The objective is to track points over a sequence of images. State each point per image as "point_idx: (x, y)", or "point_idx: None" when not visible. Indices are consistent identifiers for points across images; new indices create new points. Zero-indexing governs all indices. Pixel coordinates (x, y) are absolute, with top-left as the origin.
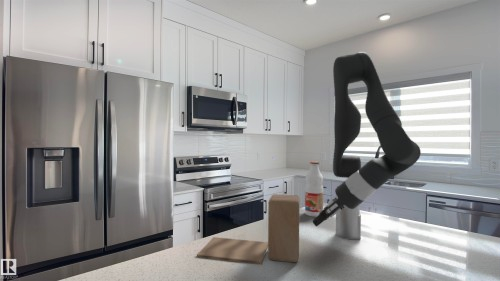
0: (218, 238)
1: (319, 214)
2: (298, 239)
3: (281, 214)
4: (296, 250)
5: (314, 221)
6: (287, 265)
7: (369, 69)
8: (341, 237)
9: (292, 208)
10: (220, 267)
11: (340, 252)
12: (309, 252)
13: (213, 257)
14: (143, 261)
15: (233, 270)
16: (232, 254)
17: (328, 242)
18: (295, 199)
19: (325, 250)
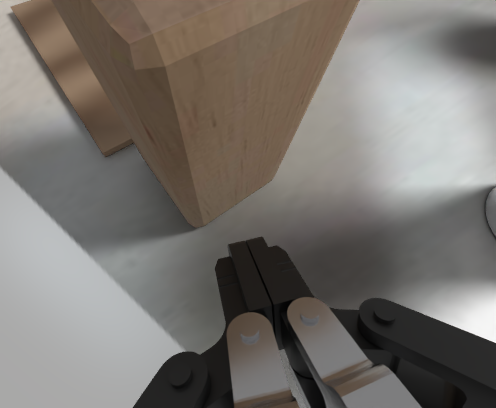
0: None
1: (163, 373)
2: (193, 204)
3: (89, 53)
4: (187, 215)
5: (217, 271)
6: (160, 216)
7: None
8: (487, 218)
9: (110, 68)
10: (6, 93)
11: (385, 283)
12: (295, 209)
13: (34, 44)
14: None
15: (15, 128)
16: (82, 67)
17: (414, 208)
18: None
19: (353, 237)
